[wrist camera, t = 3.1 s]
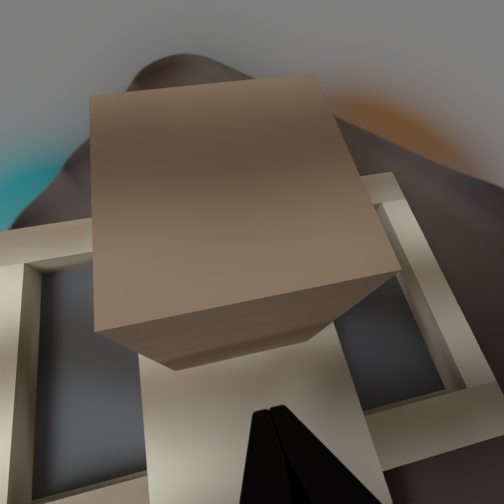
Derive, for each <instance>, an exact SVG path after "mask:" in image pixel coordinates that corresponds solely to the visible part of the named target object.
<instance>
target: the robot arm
mask: <svg viewBox="0 0 504 504" xmlns="http://www.w3.org/2000/svg"><path fill="white" fill-rule="evenodd" d="M239 504H382V503H381V502H380V501H379V500H378V499H377V498H376V497H375V496H374V495H373V494H372V493H371V492H370V491H369V490H368V489H367V488H366V487H365V485H364V484H363V483H362V482H361V481H360V480H359V479H358V478H357V477H356V476H355V475H354V474H353V473H352V472H351V471H350V470H349V469H348V468H347V467H346V466H345V465H344V464H343V463H342V462H341V461H340V460H339V459H338V458H337V457H336V456H335V455H334V454H333V453H332V452H331V451H330V450H329V449H328V448H327V447H326V446H325V445H324V444H323V443H322V442H321V441H320V440H319V439H318V438H317V437H316V436H315V435H314V434H313V433H312V432H311V431H310V430H309V429H308V428H307V427H306V426H305V425H304V424H303V423H302V422H301V421H300V420H299V419H298V418H297V416H296V415H295V414H294V413H293V412H292V411H291V410H290V409H289V408H288V407H287V406H285V405H283V404H282V405H278V406H274V407H271V408H270V409H269V410H268V409H262V410H258V411H255V412H253V414H252V418H251V425H250V432H249V439H248V446H247V453H246V459H245V466H244V473H243V480H242V487H241V494H240V500H239Z"/></svg>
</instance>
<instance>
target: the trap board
mask: <svg viewBox="0 0 504 504" xmlns="http://www.w3.org/2000/svg"><path fill="white" fill-rule="evenodd" d="M360 177H361V179H362V181H363V183H364V186H365V188H366V190H367V192H368V195H369V197H370V199H371V201H372V203H373V206H374V208H375V210H376V212H377V215H378V217H379V219H380V221H381V224H382V226H383V228H384V230H385V233H386V235H387V237H388V239H389V241H390V244H391V246H392V248H393V250H394V253H395V255H396V257H397V259H398V262H399V264H400V266H401V268H402V270H401V271H399V272H398V273H397V274H395V275H394V276H393V277H391V278H390V279H389V280H387V281H386V282H385V283H383V284H382V285H381V286H379V287H378V288H377V289H375V290H374V291H373V292H371V293H370V294H369V295H368V296H366V297H365V298H364V299H362V300H361V301H360V302H358V303H357V304H356V305H354V306H353V307H352V308H350V309H349V310H348V311H346V312H345V313H344V314H342V315H341V316H340V317H338V318H337V319H336V320H334V321H333V322H332V323H331V324H329V325H328V326H327V327H325V328H324V329H323V330H321V331H320V332H319V333H317V334H316V335H315V336H313V337H312V338H311V339H309V340H308V341H306V342H302V343H298V344H293V345H289V346H284V347H280V348H276V349H271V350H267V351H263V352H258V353H254V354H249V355H245V356H241V357H236V358H232V359H228V360H223V361H219V362H215V363H210V364H206V365H201V366H197V367H193V368H188V369H184V370H180V371H174V370H172V369H170V368H168V367H166V366H164V365H162V364H159V363H157V362H155V361H153V360H151V359H149V358H147V357H145V356H143V355H141V354H139V353H137V352H135V351H133V350H131V349H129V348H126V347H124V346H122V345H120V344H118V343H116V342H114V341H112V340H110V339H108V338H106V337H104V336H102V335H100V334H98V333H96V332H94V289H93V246H92V218H86V219H79V220H73V221H66V222H60V223H53V224H47V225H40V226H34V227H27V228H21V229H14V230H8V231H2V232H0V504H239V500H240V494H241V487H242V480H243V473H244V466H245V459H246V453H247V446H248V439H249V432H250V425H251V418H252V414H253V412H255V411H258V410H262V409H268V410H269V409H270V408H271V407H274V406H278V405H282V404H283V405H285V406H287V407H288V408H289V409H290V410H291V411H292V412H293V413H294V414H295V415H296V416H297V418H298V419H299V420H300V421H301V422H302V423H303V424H304V425H305V426H306V427H307V428H308V429H309V430H310V431H311V432H312V433H313V434H314V435H315V436H316V437H317V438H318V439H319V440H320V441H321V442H322V443H323V444H324V445H325V446H326V447H327V448H328V449H329V450H330V451H331V452H332V453H333V454H334V455H335V456H336V457H337V458H338V459H339V460H340V461H341V462H342V463H343V464H344V465H345V466H346V467H347V468H348V469H349V470H350V471H351V472H352V473H353V474H354V475H355V476H356V477H357V478H358V479H359V480H360V481H361V482H362V483H363V484H364V485H365V487H366V488H367V489H368V490H369V491H370V492H371V493H372V494H373V495H374V496H375V497H376V498H377V499H378V500H379V501H380V502H381V503H382V504H393V502H392V499H391V496H390V493H389V490H388V487H387V484H386V481H385V478H384V475H383V472H382V471H385V470H389V469H392V468H395V467H399V466H402V465H405V464H409V463H412V462H415V461H418V460H422V459H425V458H428V457H432V456H435V455H438V454H442V453H445V452H448V451H452V450H455V449H458V448H461V447H465V446H468V445H471V444H475V443H478V442H481V441H485V440H488V439H491V438H495V437H498V436H501V435H504V395H503V393H502V391H501V389H500V387H499V385H498V383H497V381H496V379H495V377H494V375H493V373H492V371H491V369H490V367H489V365H488V363H487V361H486V359H485V357H484V355H483V353H482V351H481V349H480V347H479V345H478V343H477V341H476V339H475V337H474V335H473V333H472V331H471V329H470V327H469V325H468V323H467V321H466V319H465V317H464V315H463V313H462V311H461V309H460V307H459V305H458V303H457V301H456V299H455V297H454V295H453V293H452V291H451V289H450V287H449V285H448V283H447V281H446V279H445V277H444V275H443V273H442V271H441V269H440V267H439V265H438V263H437V261H436V259H435V257H434V255H433V253H432V251H431V249H430V247H429V245H428V243H427V241H426V239H425V237H424V235H423V233H422V231H421V229H420V227H419V225H418V223H417V221H416V219H415V217H414V215H413V213H412V211H411V209H410V207H409V205H408V203H407V201H406V199H405V197H404V195H403V193H402V191H401V189H400V187H399V185H398V183H397V181H396V179H395V177H394V175H393V173H392V172H386V173H379V174H373V175H366V176H360Z"/></svg>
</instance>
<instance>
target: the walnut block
mask: <svg viewBox="0 0 504 504" xmlns="http://www.w3.org/2000/svg"><path fill="white" fill-rule="evenodd" d="M89 115H90V159H91V202H92V246H93V289H94V332H96V333H98V334H100V335H102V336H104V337H106V338H108V339H110V340H112V341H114V342H116V343H118V344H120V345H122V346H124V347H126V348H129V349H131V350H133V351H135V352H137V353H139V354H141V355H143V356H145V357H147V358H149V359H151V360H153V361H155V362H157V363H159V364H162V365H164V366H166V367H168V368H170V369H172V370H174V371H180V370H184V369H188V368H193V367H197V366H201V365H206V364H210V363H215V362H219V361H223V360H228V359H232V358H236V357H241V356H245V355H249V354H254V353H258V352H263V351H267V350H271V349H276V348H280V347H284V346H289V345H293V344H298V343H302V342H306V341H308V340H309V339H311V338H312V337H313V336H315V335H316V334H317V333H319V332H320V331H321V330H323V329H324V328H325V327H327V326H328V325H329V324H331V323H332V322H333V321H334V320H336V319H337V318H338V317H340V316H341V315H342V314H344V313H345V312H346V311H348V310H349V309H350V308H352V307H353V306H354V305H356V304H357V303H358V302H360V301H361V300H362V299H364V298H365V297H366V296H368V295H369V294H370V293H371V292H373V291H374V290H375V289H377V288H378V287H379V286H381V285H382V284H383V283H385V282H386V281H387V280H389V279H390V278H391V277H393V276H394V275H395V274H397V273H398V272H399V271H401V270H402V268H401V266H400V264H399V262H398V259H397V257H396V255H395V253H394V250H393V248H392V246H391V244H390V241H389V239H388V237H387V235H386V233H385V230H384V228H383V226H382V224H381V221H380V219H379V217H378V215H377V212H376V210H375V208H374V206H373V203H372V201H371V199H370V197H369V195H368V192H367V190H366V188H365V186H364V183H363V181H362V179H361V177H360V174H359V172H358V170H357V168H356V165H355V163H354V161H353V159H352V157H351V154H350V152H349V150H348V148H347V145H346V143H345V141H344V139H343V136H342V134H341V132H340V130H339V127H338V125H337V123H336V121H335V118H334V116H333V114H332V112H331V110H330V108H329V105H328V103H327V101H326V98H325V96H324V94H323V92H322V90H321V87H320V85H319V83H318V81H317V78H316V76H315V74H314V73H312V74H302V75H293V76H283V77H273V78H262V79H252V80H242V81H232V82H222V83H212V84H202V85H192V86H182V87H172V88H162V89H152V90H142V91H132V92H122V93H112V94H103V95H92V96H89Z"/></svg>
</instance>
